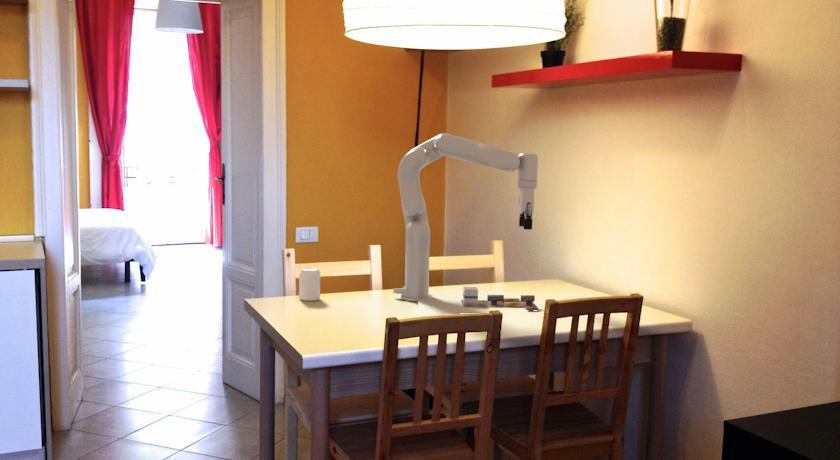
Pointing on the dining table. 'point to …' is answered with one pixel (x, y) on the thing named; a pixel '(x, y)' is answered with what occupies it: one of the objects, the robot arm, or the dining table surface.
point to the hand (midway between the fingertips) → (525, 227)
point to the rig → (506, 302)
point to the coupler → (470, 296)
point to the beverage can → (309, 284)
